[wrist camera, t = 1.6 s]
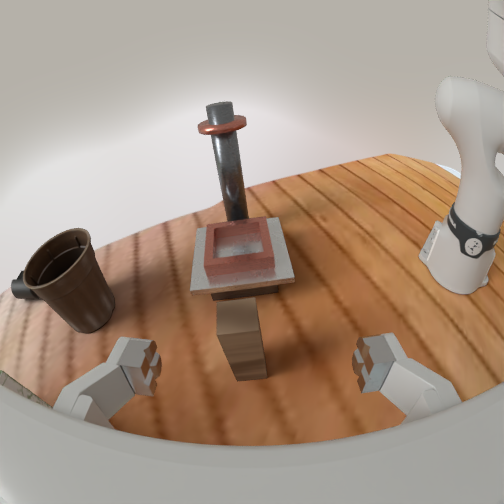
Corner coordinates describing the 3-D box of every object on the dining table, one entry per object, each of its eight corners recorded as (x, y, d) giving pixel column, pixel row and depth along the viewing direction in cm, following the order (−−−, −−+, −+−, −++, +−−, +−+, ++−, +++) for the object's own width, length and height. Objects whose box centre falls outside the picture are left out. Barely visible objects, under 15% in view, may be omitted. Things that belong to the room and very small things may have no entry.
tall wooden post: (267, 378, 37) (259, 330, 28) (237, 381, 37) (216, 334, 28) (264, 352, 40) (255, 297, 31) (235, 355, 40) (216, 302, 31)
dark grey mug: (21, 304, 52) (7, 288, 48) (30, 286, 58) (18, 269, 53) (40, 305, 52) (26, 287, 48) (50, 284, 57) (38, 266, 53)
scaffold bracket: (294, 300, 47) (290, 127, 27) (199, 312, 47) (140, 152, 28) (273, 217, 67) (262, 95, 47) (205, 227, 67) (177, 108, 47)
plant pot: (104, 272, 58) (74, 219, 48) (138, 304, 50) (102, 242, 40) (57, 314, 49) (18, 264, 39) (82, 356, 41) (31, 303, 30)
